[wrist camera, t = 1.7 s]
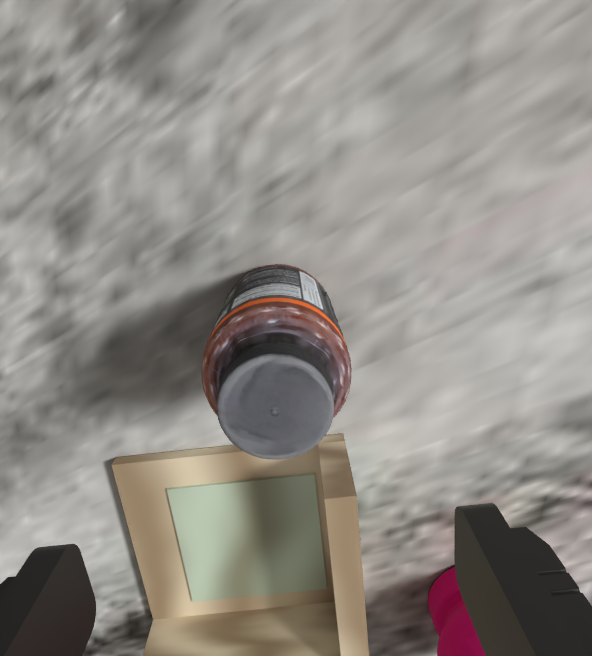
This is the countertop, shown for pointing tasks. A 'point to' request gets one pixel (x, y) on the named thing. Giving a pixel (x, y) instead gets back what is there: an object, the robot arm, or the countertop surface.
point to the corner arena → (247, 551)
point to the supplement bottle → (276, 363)
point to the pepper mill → (452, 618)
